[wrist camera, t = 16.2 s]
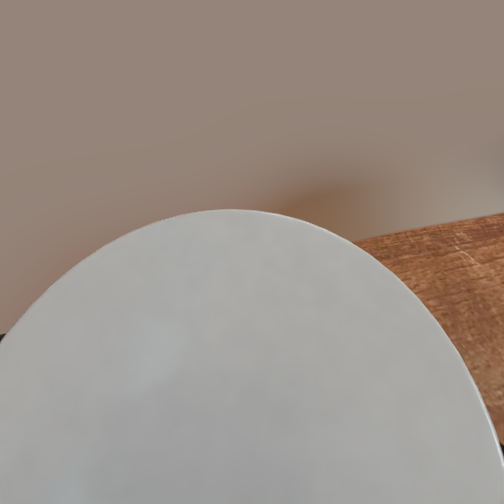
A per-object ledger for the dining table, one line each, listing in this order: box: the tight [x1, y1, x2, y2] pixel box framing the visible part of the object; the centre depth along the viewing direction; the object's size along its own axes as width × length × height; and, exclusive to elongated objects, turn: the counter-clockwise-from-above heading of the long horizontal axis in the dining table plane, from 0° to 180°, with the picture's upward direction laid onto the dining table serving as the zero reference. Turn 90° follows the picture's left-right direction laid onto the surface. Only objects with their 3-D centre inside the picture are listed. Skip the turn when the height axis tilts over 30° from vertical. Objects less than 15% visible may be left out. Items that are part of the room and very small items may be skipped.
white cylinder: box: [0, 209, 504, 504], centre depth 8 cm, size 7×7×12 cm
